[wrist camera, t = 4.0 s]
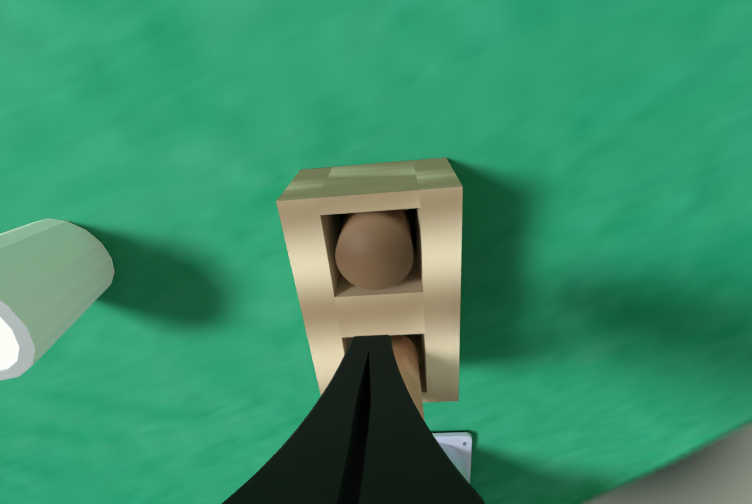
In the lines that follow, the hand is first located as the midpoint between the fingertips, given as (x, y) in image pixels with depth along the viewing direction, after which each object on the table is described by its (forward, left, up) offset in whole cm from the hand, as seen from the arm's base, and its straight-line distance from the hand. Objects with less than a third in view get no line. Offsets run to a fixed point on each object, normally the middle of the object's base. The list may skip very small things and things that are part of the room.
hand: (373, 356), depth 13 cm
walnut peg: (+1, 0, -10) cm, 10 cm away
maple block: (-2, 0, -10) cm, 10 cm away
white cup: (0, +20, -10) cm, 22 cm away
